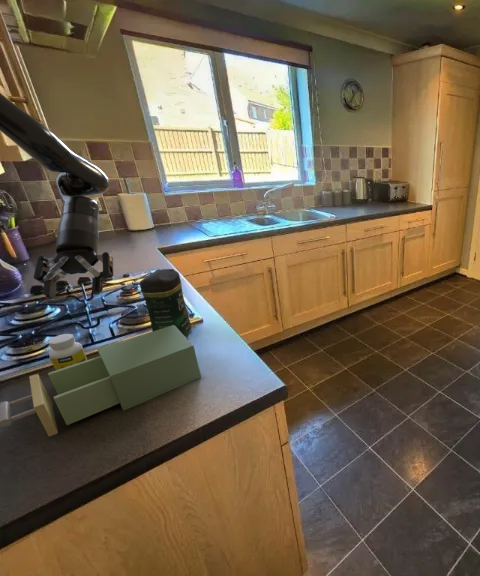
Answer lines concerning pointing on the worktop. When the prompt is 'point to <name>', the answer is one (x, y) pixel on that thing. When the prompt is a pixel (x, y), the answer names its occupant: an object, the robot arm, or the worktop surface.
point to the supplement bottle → (65, 351)
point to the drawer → (67, 395)
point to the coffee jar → (165, 300)
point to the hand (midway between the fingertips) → (73, 295)
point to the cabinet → (150, 365)
